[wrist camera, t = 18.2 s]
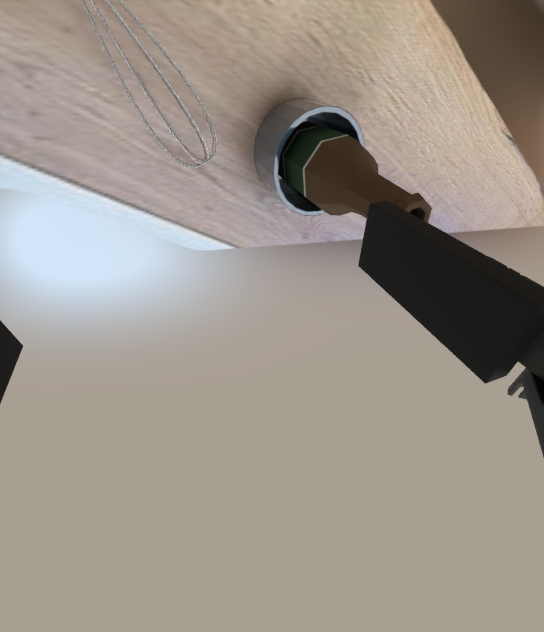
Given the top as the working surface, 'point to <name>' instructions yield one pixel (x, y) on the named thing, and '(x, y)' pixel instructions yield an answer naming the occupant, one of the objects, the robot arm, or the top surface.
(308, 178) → the beer bottle
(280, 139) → the metal cup
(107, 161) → the top surface
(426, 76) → the top surface
